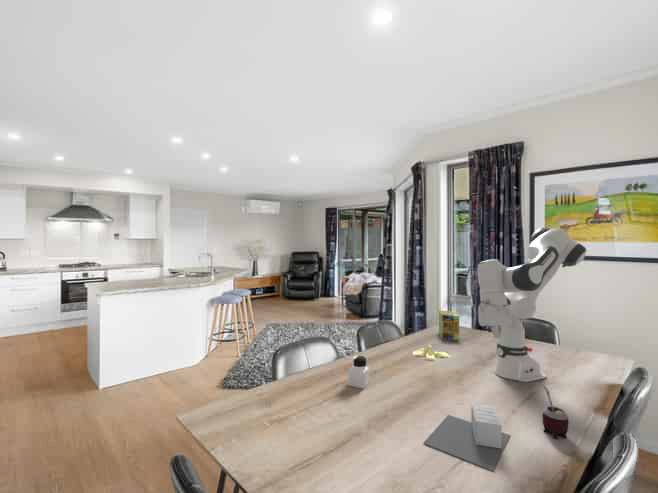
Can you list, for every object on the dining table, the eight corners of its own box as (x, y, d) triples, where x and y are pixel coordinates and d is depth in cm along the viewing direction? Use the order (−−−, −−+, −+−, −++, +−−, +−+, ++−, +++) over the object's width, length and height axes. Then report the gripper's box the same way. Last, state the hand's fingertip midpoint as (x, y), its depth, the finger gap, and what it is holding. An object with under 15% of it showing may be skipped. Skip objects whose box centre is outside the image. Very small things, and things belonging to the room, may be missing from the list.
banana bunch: (455, 357, 185) (455, 346, 185) (436, 364, 173) (436, 352, 173) (420, 347, 202) (420, 336, 202) (401, 353, 190) (401, 342, 190)
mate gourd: (568, 443, 106) (569, 395, 105) (539, 435, 110) (540, 389, 109) (567, 431, 112) (568, 386, 112) (539, 424, 116) (540, 381, 116)
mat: (448, 415, 122) (448, 414, 122) (510, 435, 109) (510, 435, 109) (423, 443, 104) (423, 442, 104) (493, 471, 92) (493, 470, 92)
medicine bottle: (369, 382, 149) (369, 355, 149) (364, 389, 143) (364, 360, 143) (354, 379, 152) (354, 353, 152) (348, 386, 146) (348, 358, 146)
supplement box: (494, 427, 113) (501, 449, 101) (470, 423, 116) (474, 445, 104) (495, 405, 113) (502, 425, 101) (471, 402, 116) (475, 421, 103)
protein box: (442, 339, 217) (442, 315, 217) (438, 332, 233) (438, 310, 232) (459, 340, 216) (459, 315, 215) (454, 333, 231) (454, 311, 231)
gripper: (488, 299, 122) (493, 339, 118) (512, 301, 134) (518, 337, 131) (471, 300, 126) (476, 339, 123) (496, 302, 139) (501, 336, 136)
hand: (497, 338), depth 127 cm, fingers closed
